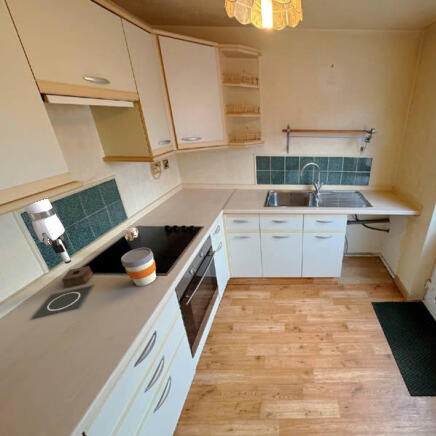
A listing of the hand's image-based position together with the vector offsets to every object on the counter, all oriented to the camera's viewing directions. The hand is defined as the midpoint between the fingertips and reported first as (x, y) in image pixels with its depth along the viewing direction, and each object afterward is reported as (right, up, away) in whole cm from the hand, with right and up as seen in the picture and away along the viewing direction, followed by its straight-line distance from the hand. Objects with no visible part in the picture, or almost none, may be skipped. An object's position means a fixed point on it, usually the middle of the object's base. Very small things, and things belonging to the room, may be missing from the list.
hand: (62, 250), depth 104 cm
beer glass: (+14, -6, +31) cm, 35 cm away
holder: (0, -16, +9) cm, 19 cm away
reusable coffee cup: (+33, -16, +8) cm, 38 cm away
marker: (0, -6, +3) cm, 7 cm away
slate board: (+5, -22, -4) cm, 23 cm away
